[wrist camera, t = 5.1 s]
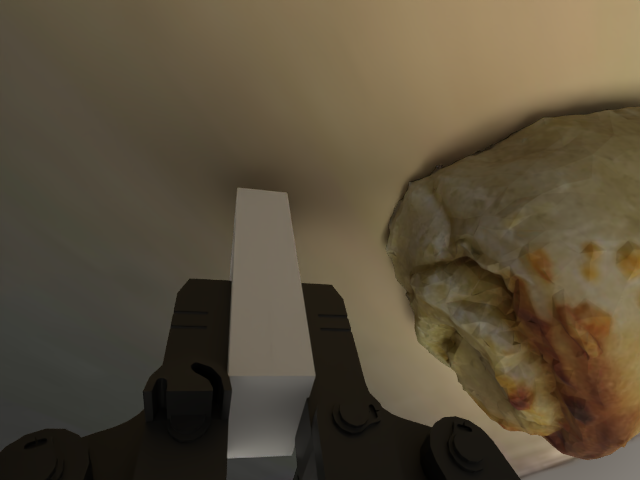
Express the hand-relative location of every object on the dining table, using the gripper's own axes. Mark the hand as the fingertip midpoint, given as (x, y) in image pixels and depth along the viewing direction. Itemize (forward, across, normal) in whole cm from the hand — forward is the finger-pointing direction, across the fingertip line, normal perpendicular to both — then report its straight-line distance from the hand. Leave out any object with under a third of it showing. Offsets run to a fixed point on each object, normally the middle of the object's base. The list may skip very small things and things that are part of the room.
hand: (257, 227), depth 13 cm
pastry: (+2, +12, -1) cm, 12 cm away
